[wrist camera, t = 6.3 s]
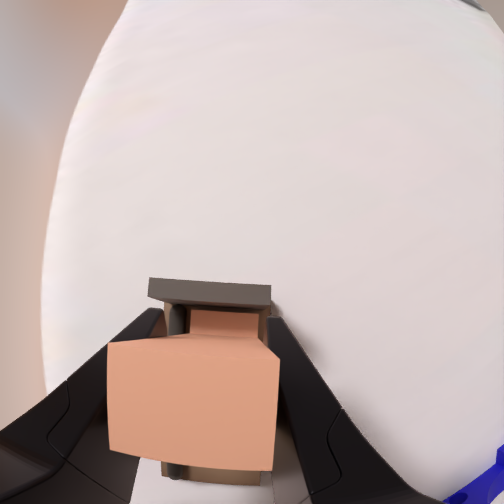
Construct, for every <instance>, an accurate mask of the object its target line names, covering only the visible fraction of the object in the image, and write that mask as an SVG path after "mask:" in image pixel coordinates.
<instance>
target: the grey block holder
mask: <svg viewBox="0 0 504 504" xmlns="http://www.w3.org/2000/svg"><path fill="white" fill-rule="evenodd" d="M148 297H151V298H154V299H157V300H160V301H163V302H164V314H165V320H166V325H167V336H173V335H181V334H188V333H190V322H191V310H204V311H218V312H234V313H252V314H259V319H258V339H259V340H260V341H261V342H262V343H263V337H264V329H265V320H266V317H268V316H270V308H271V285H257V284H238V283H221V282H205V281H191V280H176V279H163V278H150V277H149V286H148ZM161 472H162V476H164V477H169V478H171V479H173V480H179V479H183V480H190V481H198V482H207V483H217V484H231V485H257V486H260V475H261V471H250V470H229V469H216V468H206V467H197V466H189V465H181V464H175V463H169V462H163V461H161Z"/></svg>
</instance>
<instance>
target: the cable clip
mask: <svg viewBox="0 0 504 504" xmlns="http://www.w3.org/2000/svg"><path fill="white" fill-rule="evenodd" d="M503 490H504V444H503V445H502V446H501V447H500V448H499V449H497V457H496V464H494V465H493V466H492V467H491V468H489V469H488V470H487V471H486V472H484V473H483V474H482V475H480V476H479V477H478V478H476V479H475V480H474V481H472V482H471V483H469V484H468V485H466V486H465V487H464V488H462V489H461V490H459V491H458V492H456V493H455V494H453V495H451V496H450V497H448V498H447V499H445V500H443V501H442V502H444V503H447V504H490V503H491V502H492V501H493V500H494V499H495V497H497V496H498V495H499V494H500V493H501V492H502V491H503Z"/></svg>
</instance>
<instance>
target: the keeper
mask: <svg viewBox="0 0 504 504" xmlns="http://www.w3.org/2000/svg"><path fill="white" fill-rule="evenodd" d="M258 319H259V314H252V313H234V312H218V311H204V310H191V322H190V333H188V334H181V335H173V336H166V337H159V338H150V339H141V340H131V341H122V342H111V343H108V353H107V410H108V430H109V444H110V450H113V451H117V452H121V453H125V454H129V455H133V456H138V457H142V458H147V459H152V460H157V461H163V462H169V463H175V464H181V465H189V466H197V467H206V468H216V469H229V470H250V471H272V466H273V455H274V442H275V430H276V416H277V401H278V386H279V369H280V359H279V358H278V357H277V356H276V355H275V354H274V353H273V352H272V351H271V350H270V349H269V348H267V347H266V346H265V345H264V344H263V343H262V342H261V341H260V340H259V339H258Z"/></svg>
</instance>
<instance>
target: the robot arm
mask: <svg viewBox="0 0 504 504" xmlns="http://www.w3.org/2000/svg"><path fill="white" fill-rule="evenodd" d="M166 336H167V325H166V320H165V314H164V311H163V310H162V309H160V308H148V309H147V310H145V311H144V312H143V313H142V314H141V315H140V316H138V317H137V318H136V319H135V320H134V321H133V322H131V323H130V324H129V325H128V326H127V327H126V328H124V329H123V330H122V331H121V332H120V333H119V334H117V335H116V336H115V337H114V338H113V339H112V340H111V341H109V342H108V343H111V342H122V341H131V340H141V339H150V338H159V337H166ZM108 343H107V344H106V345H105V346H104V347H102V348H101V349H100V350H99V351H98V352H97V353H96V354H94V355H93V356H92V357H91V358H90V359H89V360H88V361H86V362H85V363H84V364H83V365H82V366H81V367H80V368H79V369H77V370H76V371H75V372H74V373H73V374H72V375H71V376H70V377H68V378H67V381H66V380H65V381H64V382H63V383H62V384H60V385H59V386H58V387H57V388H56V389H55V390H54V391H52V392H51V393H50V394H49V395H48V396H47V397H45V398H44V399H43V400H42V401H40V402H39V403H38V404H37V405H35V406H34V407H33V408H31V409H30V410H29V411H27V412H26V413H25V414H23V415H22V416H20V417H19V418H17V419H16V420H15V421H13V422H12V423H11V424H9V425H8V426H6V427H5V428H4V429H2V430H1V431H0V504H129V503H130V500H131V496H132V491H133V486H134V482H135V477H136V473H137V469H138V464H139V460H140V457H138V456H133V455H129V454H125V453H121V452H117V451H113V450H110V444H109V430H108V410H107V353H108ZM263 344H264V345H265V346H266V347H267V348H269V349H270V350H271V351H272V352H273V353H274V354H275V355H276V356H277V357H278V358H279V359H280V369H279V386H278V401H277V416H276V430H275V442H274V455H273V466H272V471H271V473H272V482H273V490H274V499H275V504H447V503H444V502H441V501H439V500H436V499H433V498H431V497H428V496H426V495H423V494H422V493H420V492H418V491H416V490H415V489H413V488H412V487H411V486H410V485H408V484H407V483H406V482H405V481H404V480H403V479H402V478H401V477H400V476H399V475H398V474H397V473H396V472H395V470H394V469H393V468H392V467H391V466H390V465H389V464H388V463H387V462H386V461H385V460H384V459H383V458H382V457H381V455H380V454H379V453H378V452H377V451H376V450H375V449H374V448H373V447H372V446H371V444H370V443H369V442H368V441H367V440H366V439H365V437H364V436H363V435H362V434H361V432H360V431H359V430H358V428H357V427H356V426H355V424H354V423H353V422H352V420H351V419H350V417H349V416H348V415H347V413H346V412H345V410H344V409H341V408H342V406H341V405H340V403H339V402H338V400H337V399H336V397H335V396H334V394H333V393H332V391H331V390H330V388H329V387H328V385H327V384H326V383H325V381H324V380H323V378H322V377H321V375H320V374H319V372H318V371H317V369H316V368H315V366H314V365H313V363H312V362H311V360H310V359H309V358H308V356H307V355H306V353H305V352H304V350H303V349H302V347H301V346H300V344H299V343H298V341H297V340H296V338H295V337H294V335H293V334H292V332H291V331H290V329H289V328H288V326H287V325H286V323H285V322H284V320H283V319H282V318H281V317H276V316H268V317H266V320H265V329H264V337H263Z"/></svg>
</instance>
